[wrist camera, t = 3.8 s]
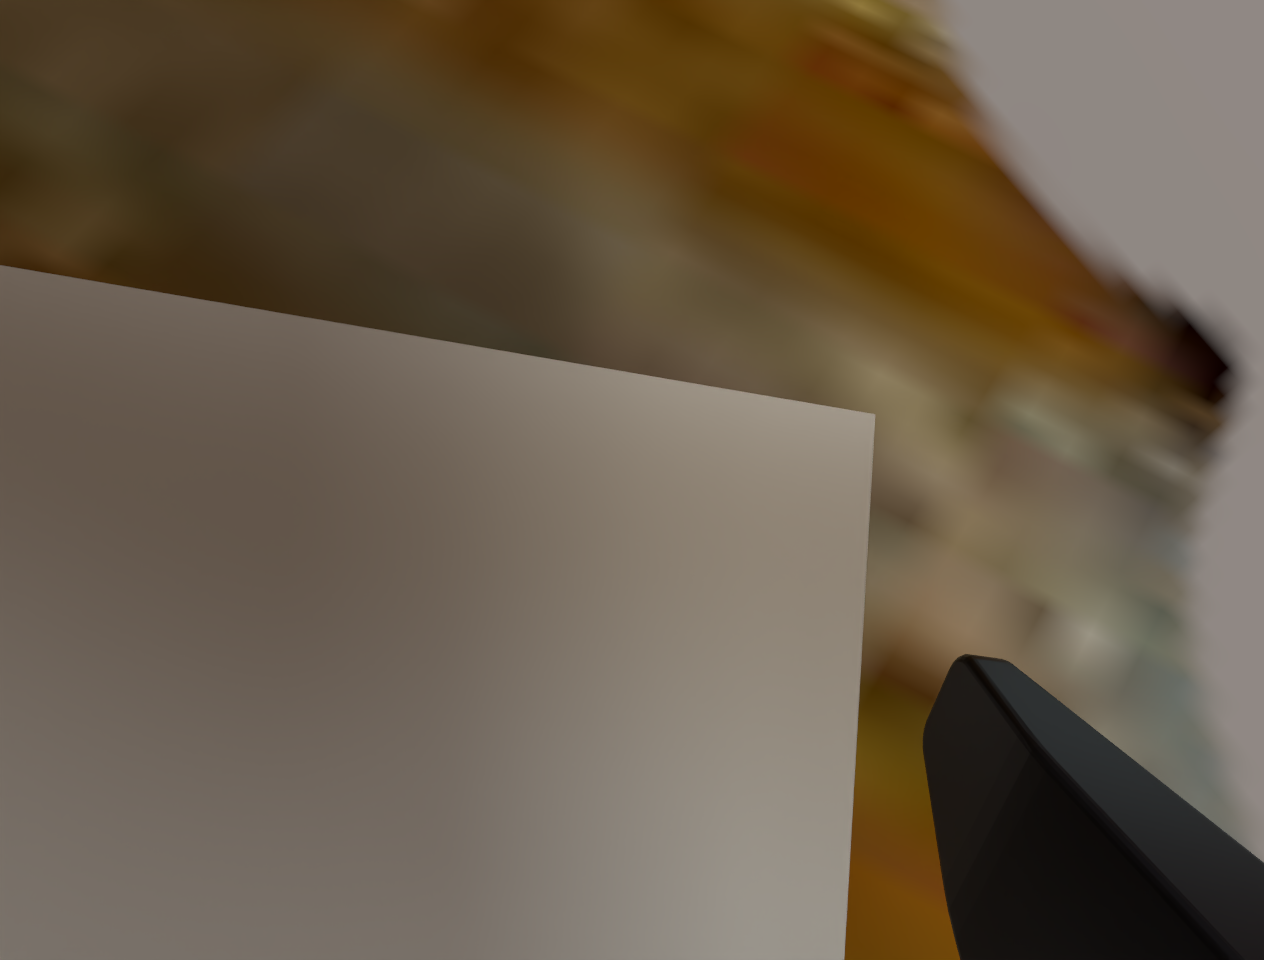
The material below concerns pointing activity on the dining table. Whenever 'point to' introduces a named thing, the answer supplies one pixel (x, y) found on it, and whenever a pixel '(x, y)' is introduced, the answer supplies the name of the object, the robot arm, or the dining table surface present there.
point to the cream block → (412, 646)
